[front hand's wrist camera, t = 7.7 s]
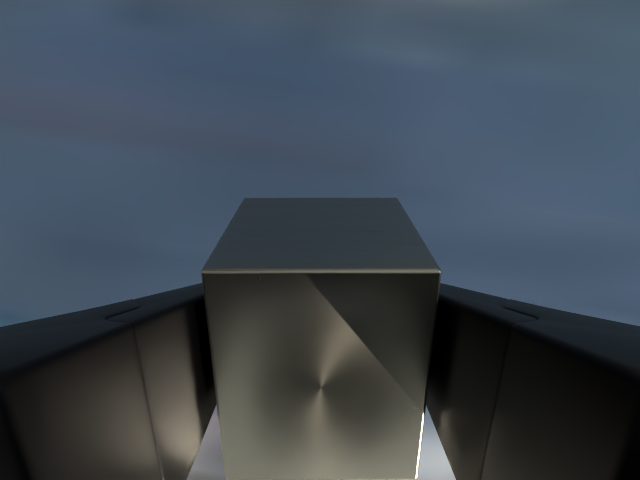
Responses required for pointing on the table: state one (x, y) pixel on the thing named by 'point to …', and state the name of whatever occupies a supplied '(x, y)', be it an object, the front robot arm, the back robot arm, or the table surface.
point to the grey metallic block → (321, 339)
